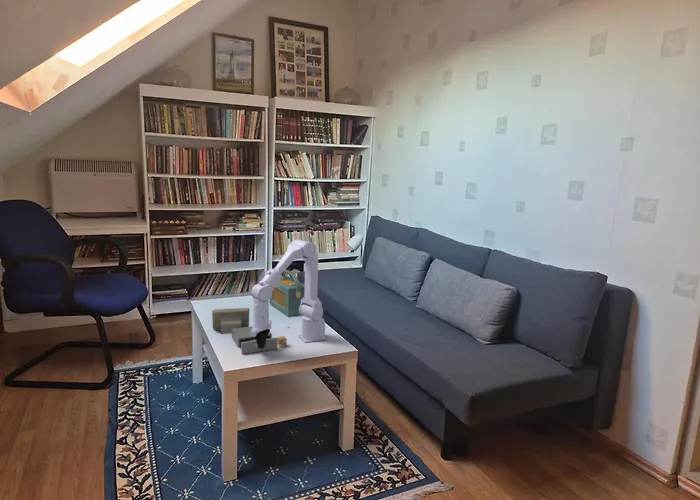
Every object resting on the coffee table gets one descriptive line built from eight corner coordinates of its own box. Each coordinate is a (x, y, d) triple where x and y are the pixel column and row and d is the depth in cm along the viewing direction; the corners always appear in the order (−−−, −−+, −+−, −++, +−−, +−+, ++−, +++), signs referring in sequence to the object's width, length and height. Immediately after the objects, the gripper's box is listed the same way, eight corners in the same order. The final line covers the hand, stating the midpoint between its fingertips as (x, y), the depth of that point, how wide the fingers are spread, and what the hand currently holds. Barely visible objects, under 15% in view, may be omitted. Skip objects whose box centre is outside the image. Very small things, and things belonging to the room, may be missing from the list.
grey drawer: (268, 338, 202) (268, 328, 201) (277, 348, 191) (277, 338, 190) (235, 343, 195) (234, 333, 194) (242, 354, 184) (242, 343, 184)
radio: (268, 303, 251) (268, 267, 248) (286, 301, 257) (287, 265, 253) (287, 317, 230) (288, 278, 226) (307, 314, 235) (308, 275, 232)
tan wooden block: (284, 344, 196) (284, 336, 196) (286, 346, 194) (286, 338, 193) (277, 345, 195) (277, 337, 194) (279, 347, 192) (279, 339, 192)
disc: (260, 340, 196) (260, 336, 196) (264, 344, 192) (264, 341, 191) (247, 342, 194) (247, 338, 193) (251, 347, 189) (251, 343, 189)
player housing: (263, 333, 208) (263, 324, 207) (271, 343, 197) (271, 334, 196) (231, 337, 201) (231, 328, 201) (238, 347, 191) (238, 338, 190)
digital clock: (250, 327, 215) (250, 304, 213) (247, 334, 206) (247, 311, 204) (214, 326, 214) (214, 304, 212) (210, 333, 205) (209, 310, 203)
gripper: (262, 321, 175) (262, 356, 178) (278, 310, 189) (278, 342, 192) (245, 319, 177) (245, 353, 180) (262, 308, 191) (262, 340, 193)
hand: (261, 347), depth 186 cm, fingers closed
